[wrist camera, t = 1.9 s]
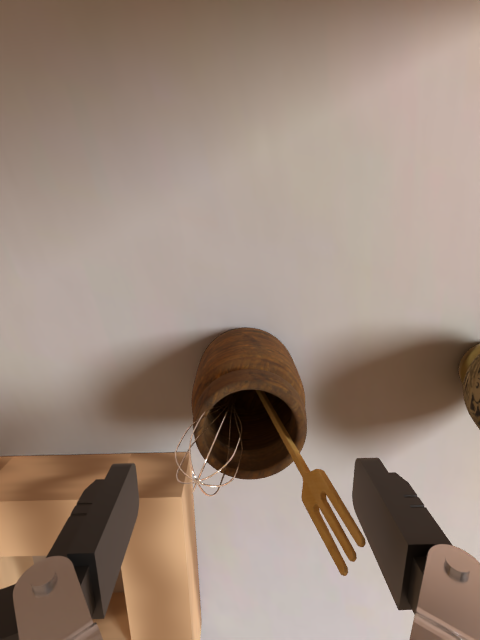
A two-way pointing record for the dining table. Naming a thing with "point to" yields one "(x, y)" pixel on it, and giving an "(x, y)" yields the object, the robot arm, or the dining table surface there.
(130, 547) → the oak socket block
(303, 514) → the dining table surface
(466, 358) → the cup
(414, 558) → the robot arm
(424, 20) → the dining table surface
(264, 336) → the utensil holder
